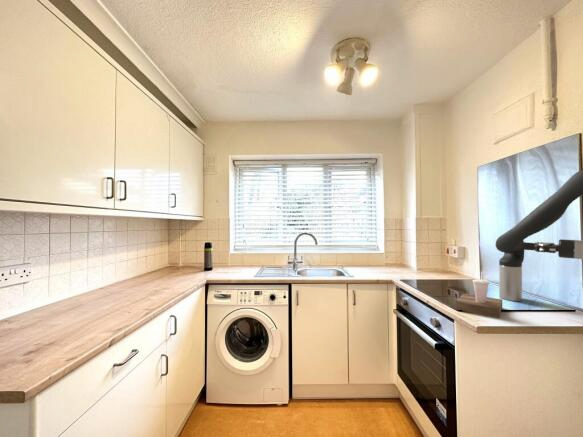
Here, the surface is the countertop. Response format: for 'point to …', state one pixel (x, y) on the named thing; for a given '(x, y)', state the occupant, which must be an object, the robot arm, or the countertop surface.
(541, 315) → the countertop surface
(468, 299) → the plinth
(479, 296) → the smoothie
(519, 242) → the robot arm
